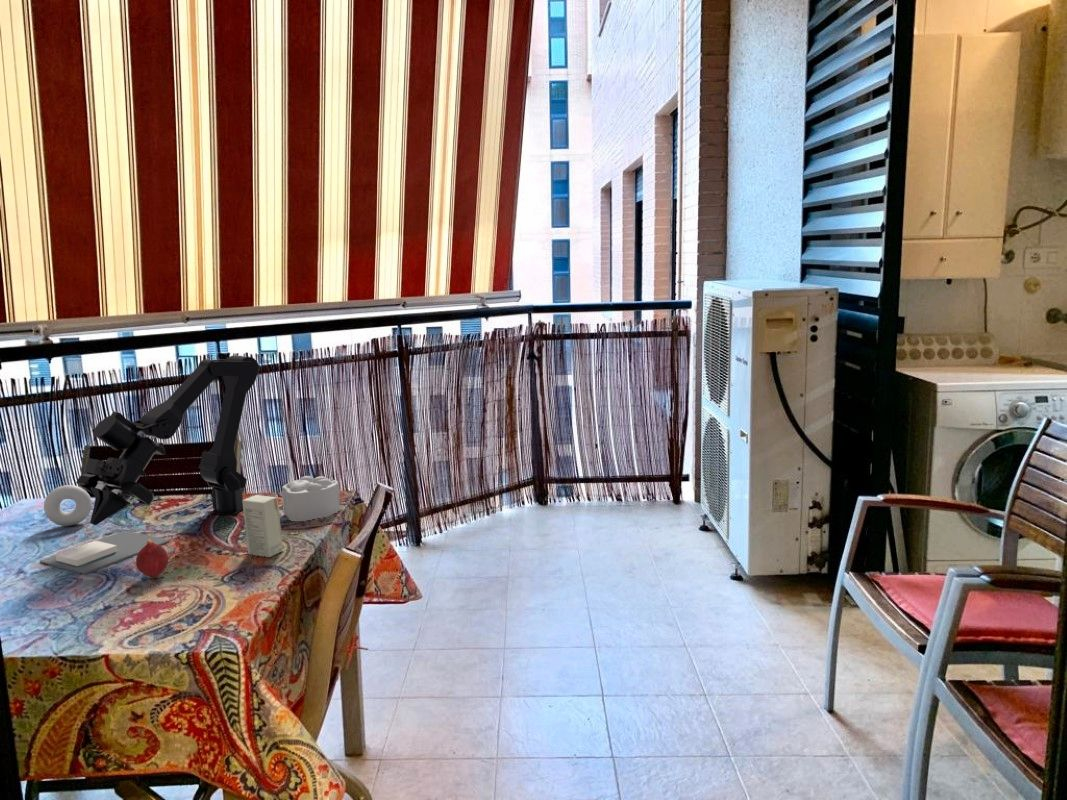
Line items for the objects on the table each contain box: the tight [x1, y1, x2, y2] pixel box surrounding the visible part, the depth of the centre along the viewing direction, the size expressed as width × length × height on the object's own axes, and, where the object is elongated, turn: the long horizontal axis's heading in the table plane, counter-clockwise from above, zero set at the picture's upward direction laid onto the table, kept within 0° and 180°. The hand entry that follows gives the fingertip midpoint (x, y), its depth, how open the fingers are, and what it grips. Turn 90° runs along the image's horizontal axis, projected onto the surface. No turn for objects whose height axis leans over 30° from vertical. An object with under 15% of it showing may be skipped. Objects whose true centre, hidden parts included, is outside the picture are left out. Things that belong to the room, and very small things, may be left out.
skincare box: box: [242, 494, 284, 558], centre depth 169 cm, size 6×4×12 cm
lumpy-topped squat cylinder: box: [281, 475, 341, 522], centre depth 195 cm, size 10×13×9 cm
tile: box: [55, 540, 117, 567], centre depth 168 cm, size 2×7×9 cm
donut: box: [43, 484, 93, 527], centre depth 189 cm, size 10×4×10 cm, turn 117°
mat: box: [39, 530, 170, 575], centre depth 172 cm, size 20×15×1 cm
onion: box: [135, 539, 170, 579], centre depth 157 cm, size 6×6×8 cm
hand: (92, 524), depth 169 cm, fingers closed
